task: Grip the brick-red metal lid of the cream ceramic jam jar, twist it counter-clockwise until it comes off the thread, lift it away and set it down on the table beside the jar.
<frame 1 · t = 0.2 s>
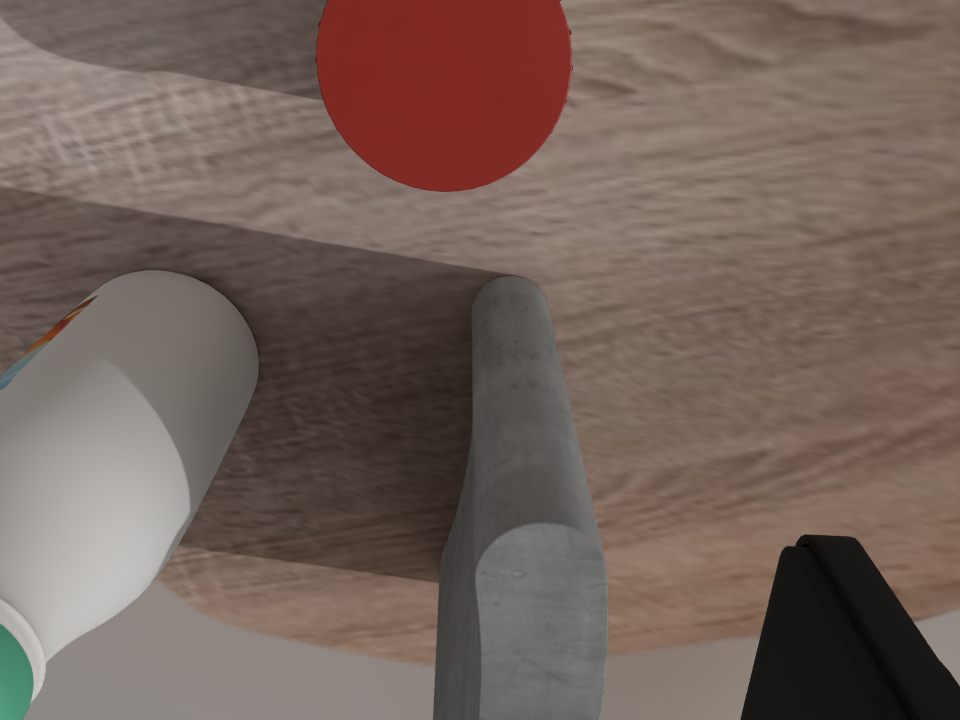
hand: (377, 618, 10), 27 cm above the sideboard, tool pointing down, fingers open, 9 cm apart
milk bottle: (172, 350, 38), on the sideboard
jam lid: (444, 64, 24), point 10 cm above the sideboard, screwed on, not yet turned
hip flask: (500, 443, 40), on the sideboard
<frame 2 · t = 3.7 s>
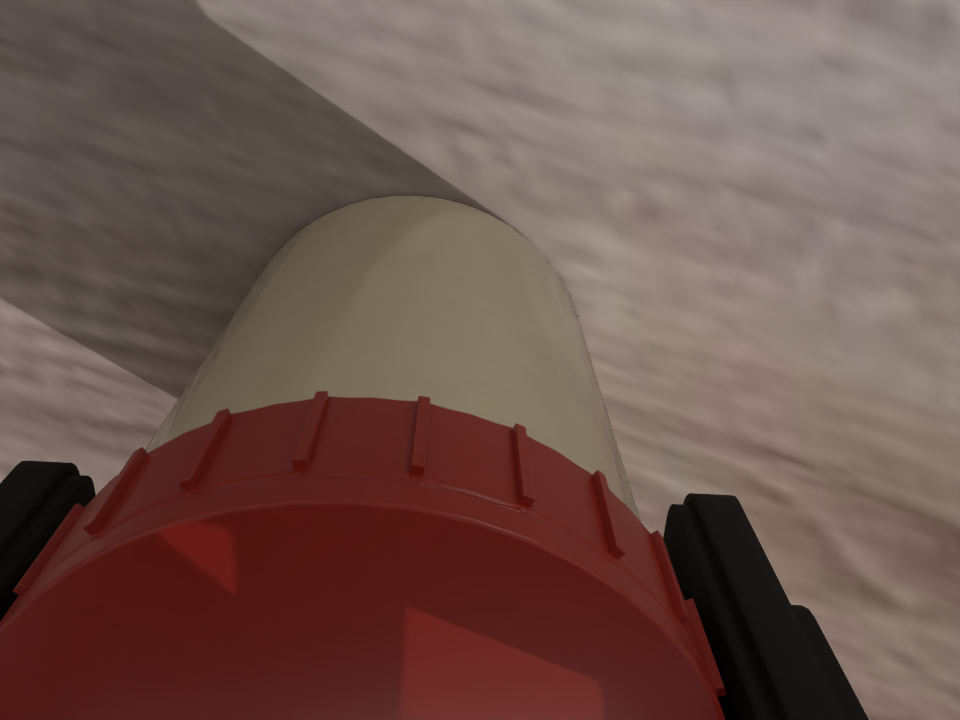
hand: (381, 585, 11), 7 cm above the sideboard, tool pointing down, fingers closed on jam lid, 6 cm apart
jam jar: (412, 362, 17), on the sideboard
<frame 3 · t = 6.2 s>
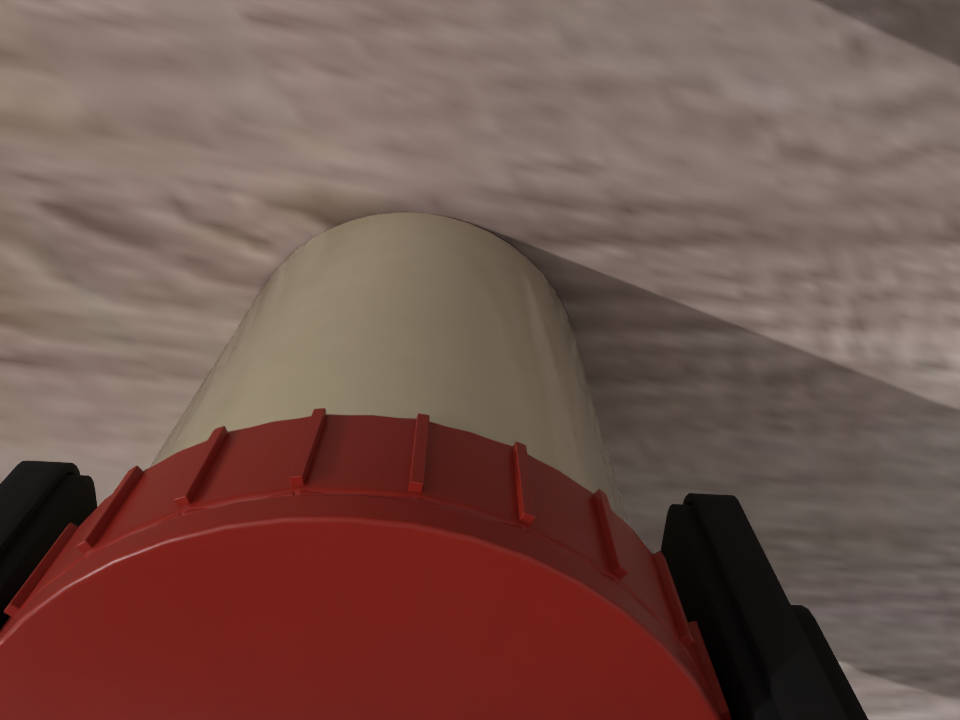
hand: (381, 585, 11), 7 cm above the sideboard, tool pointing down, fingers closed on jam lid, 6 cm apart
jam jar: (410, 375, 17), on the sideboard
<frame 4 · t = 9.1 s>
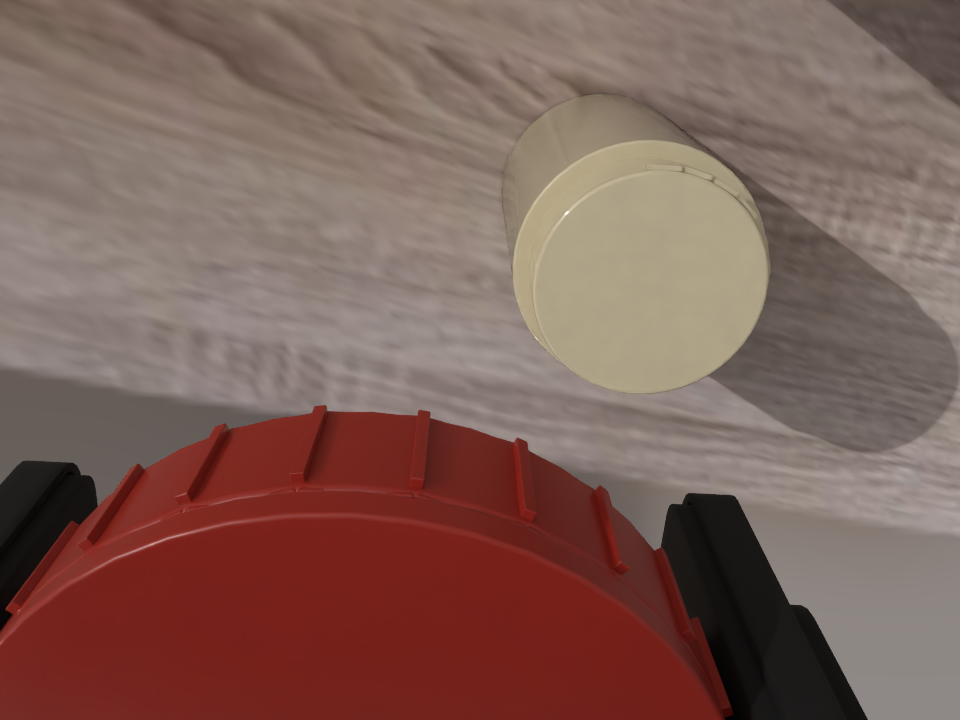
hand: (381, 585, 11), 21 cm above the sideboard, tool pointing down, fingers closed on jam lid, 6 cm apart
jam jar: (597, 193, 30), on the sideboard
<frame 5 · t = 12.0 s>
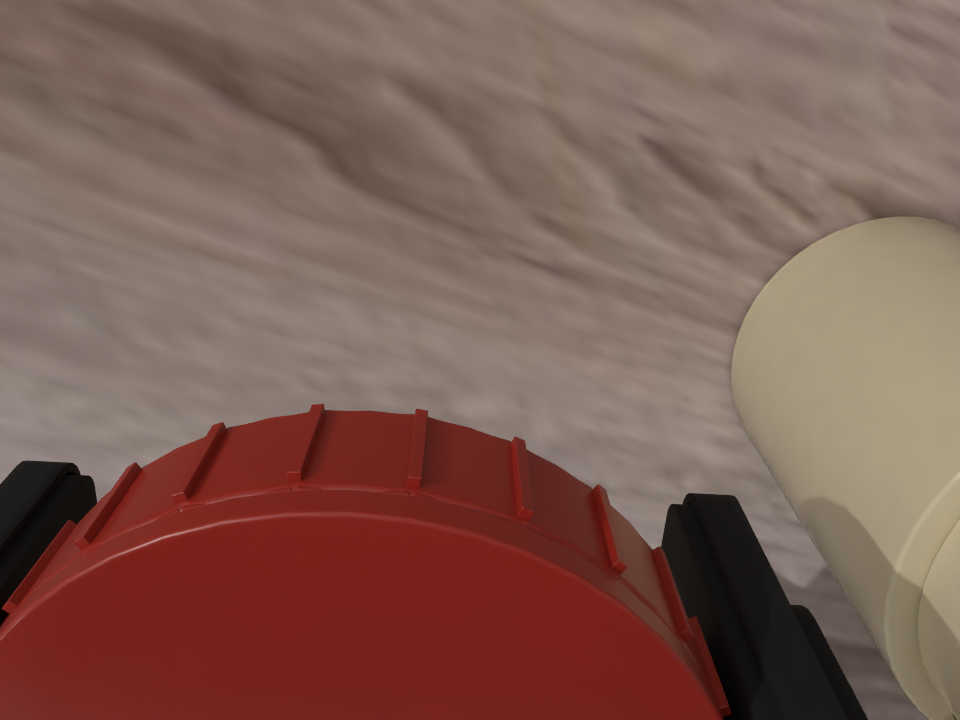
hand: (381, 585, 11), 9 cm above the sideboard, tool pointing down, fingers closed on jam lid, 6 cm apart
jam jar: (877, 359, 20), on the sideboard
when the fingers open (1 cm above the sideboard, at t = 14.7 s): jam lid drops 3 cm, point 1 cm above the sideboard.
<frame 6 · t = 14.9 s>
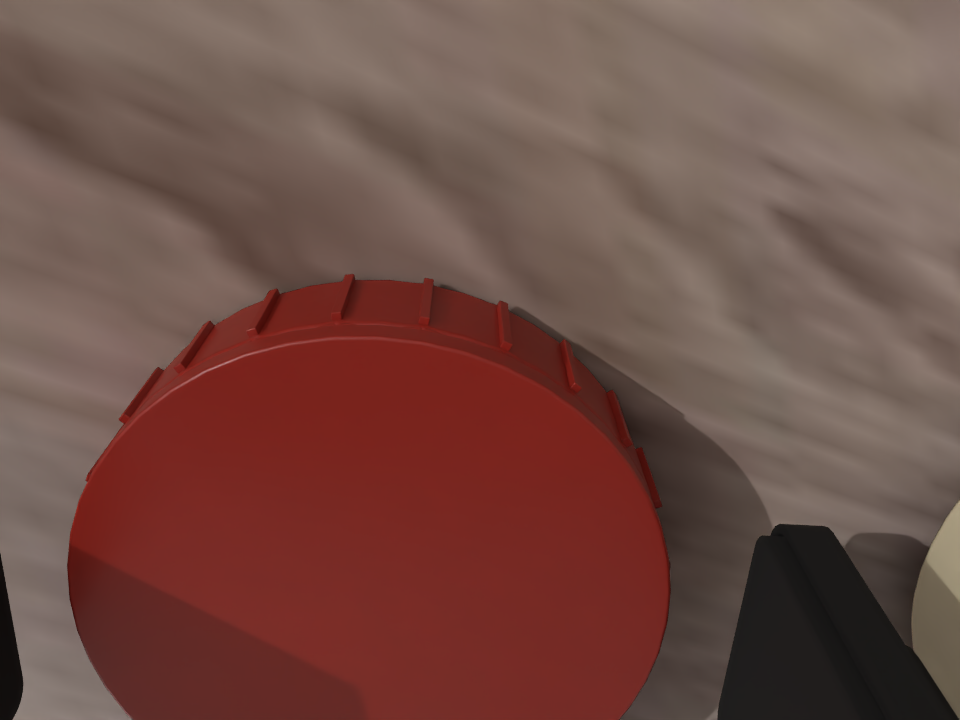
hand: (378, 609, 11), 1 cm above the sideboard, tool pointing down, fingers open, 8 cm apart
jam lid: (374, 591, 11), point 1 cm above the sideboard, off its thread
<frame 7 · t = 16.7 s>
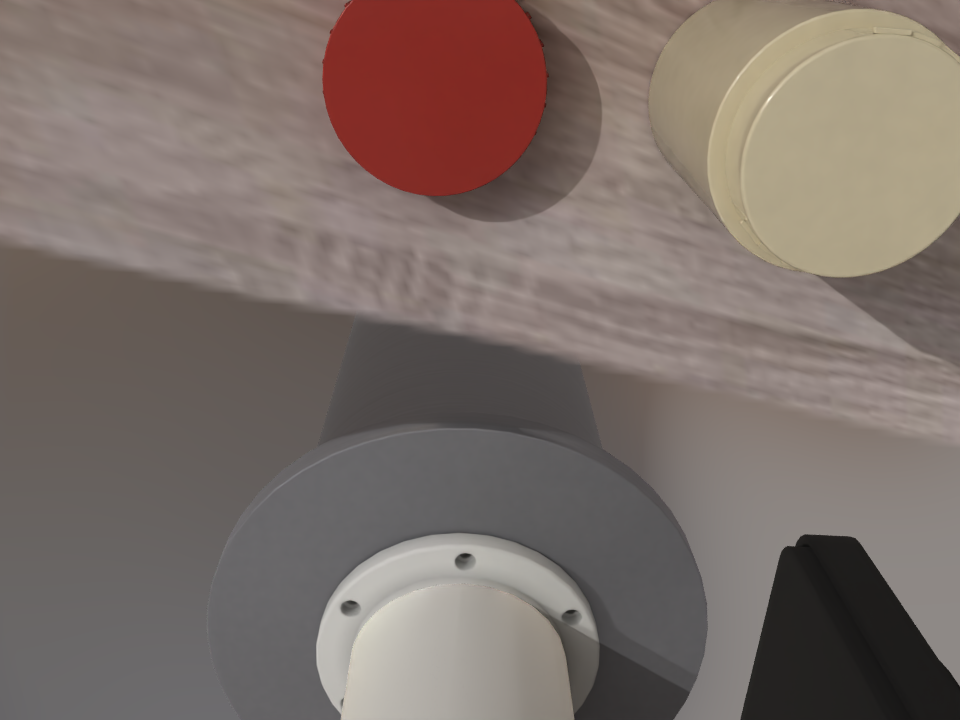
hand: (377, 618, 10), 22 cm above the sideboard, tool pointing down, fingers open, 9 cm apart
jam lid: (435, 84, 28), point 1 cm above the sideboard, off its thread
jam jar: (746, 96, 29), on the sideboard
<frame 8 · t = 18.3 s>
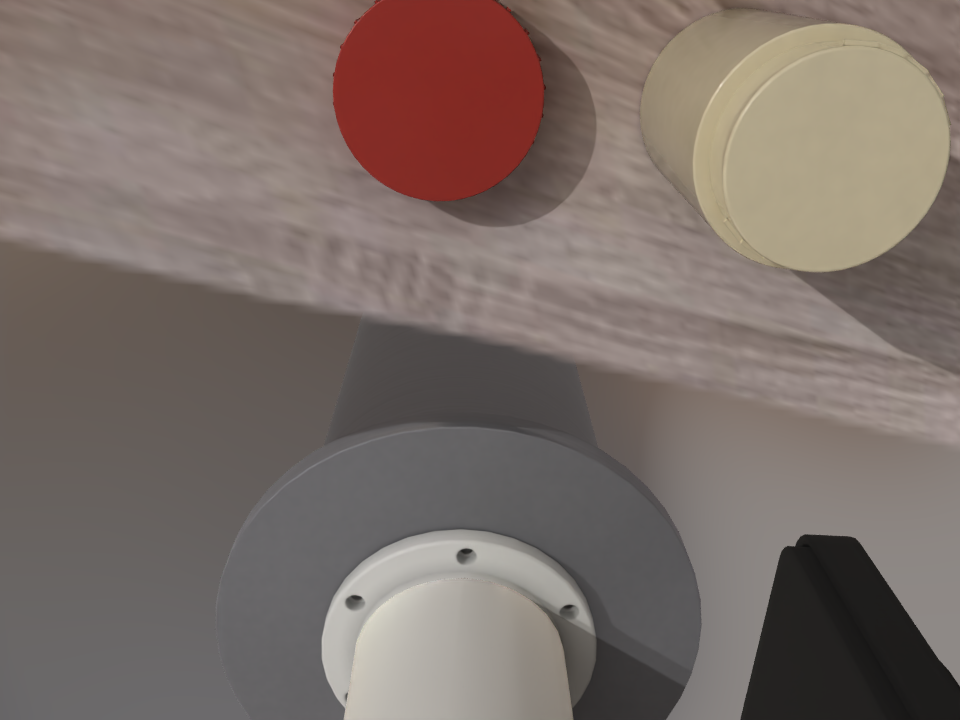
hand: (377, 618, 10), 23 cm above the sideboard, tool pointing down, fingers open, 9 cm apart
jam lid: (439, 96, 29), point 1 cm above the sideboard, off its thread
jam jar: (732, 107, 31), on the sideboard
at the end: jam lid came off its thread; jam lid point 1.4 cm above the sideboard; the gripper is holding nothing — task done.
